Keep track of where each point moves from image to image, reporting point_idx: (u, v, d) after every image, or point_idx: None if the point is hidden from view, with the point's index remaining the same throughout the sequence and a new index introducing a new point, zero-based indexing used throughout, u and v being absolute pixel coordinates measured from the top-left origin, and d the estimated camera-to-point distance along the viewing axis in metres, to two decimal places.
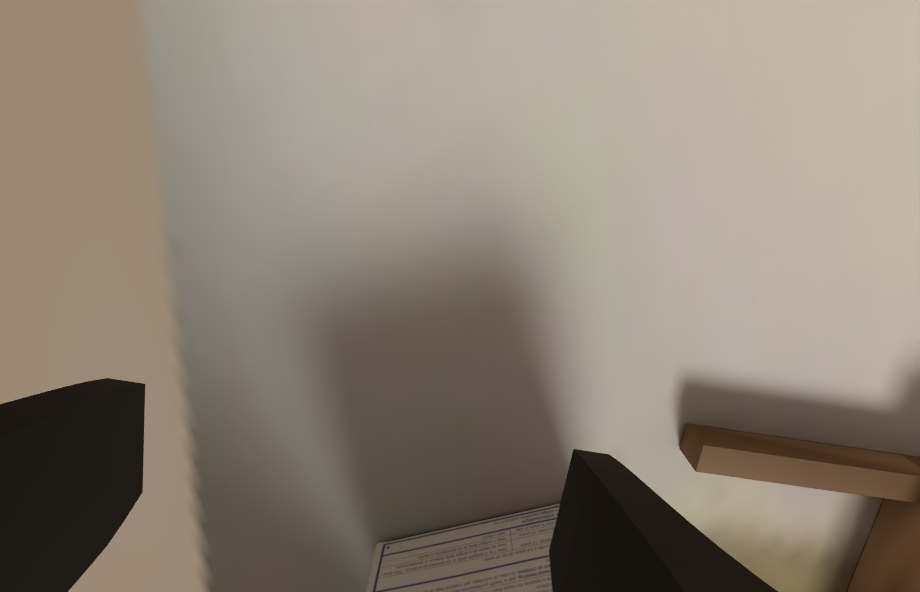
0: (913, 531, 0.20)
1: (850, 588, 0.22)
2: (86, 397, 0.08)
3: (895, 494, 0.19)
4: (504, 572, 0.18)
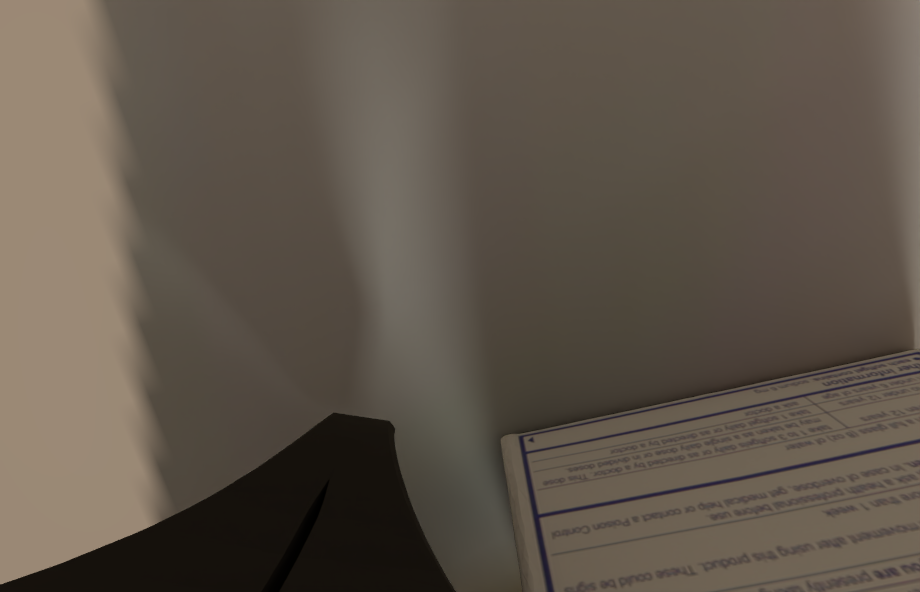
0: None
1: None
2: (345, 436, 0.08)
3: None
4: (870, 467, 0.08)
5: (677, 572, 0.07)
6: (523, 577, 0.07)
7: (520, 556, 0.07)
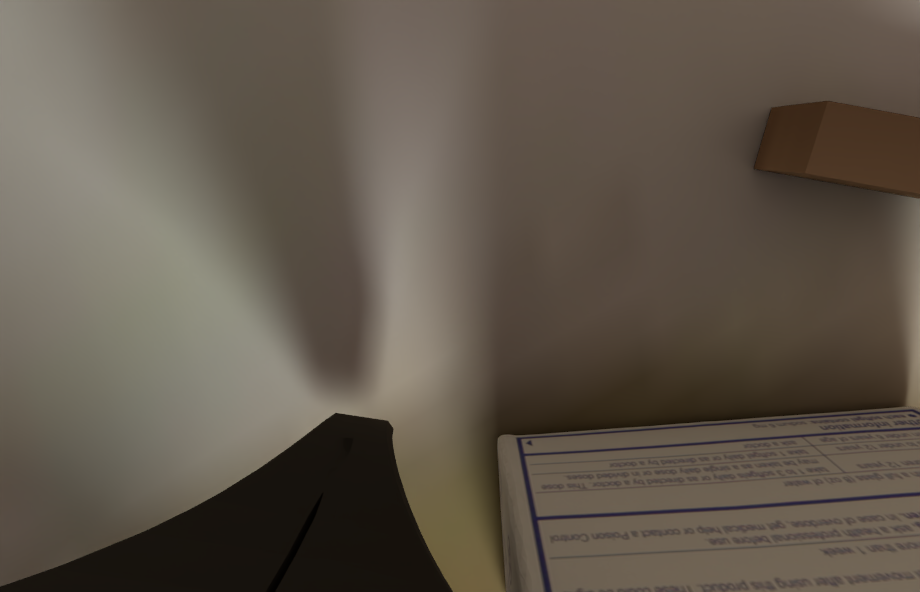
0: None
1: None
2: (347, 436, 0.08)
3: None
4: (866, 512, 0.08)
5: (676, 591, 0.07)
6: (520, 576, 0.07)
7: (517, 555, 0.07)
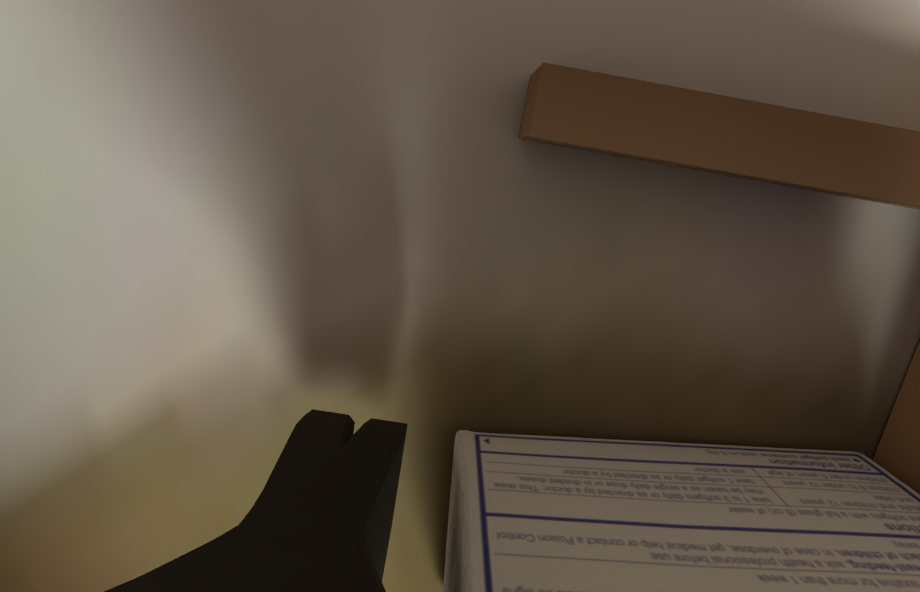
0: None
1: None
2: (387, 442, 0.08)
3: None
4: (804, 545, 0.08)
5: None
6: (463, 568, 0.07)
7: (462, 547, 0.07)
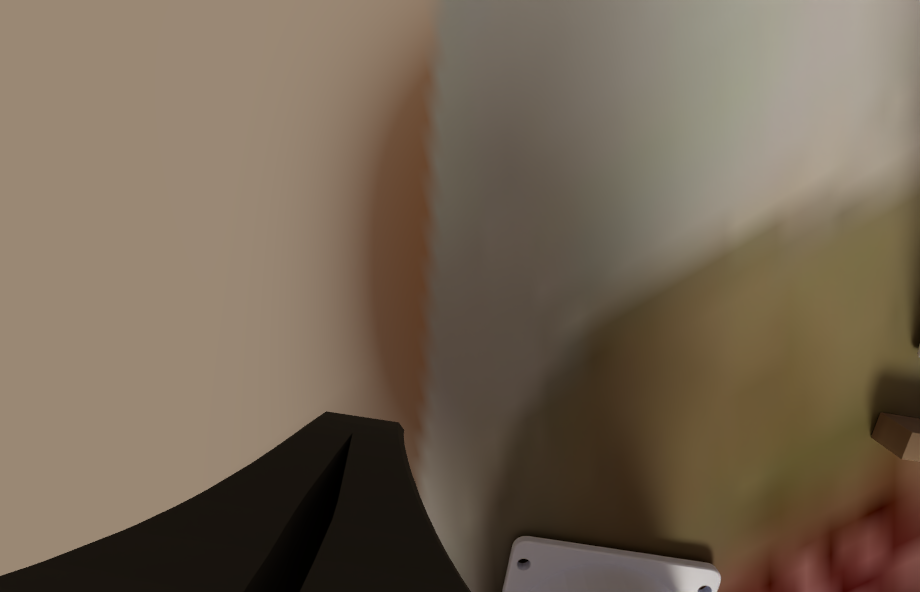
0: None
1: None
2: (335, 435, 0.08)
3: None
4: None
5: None
6: None
7: None
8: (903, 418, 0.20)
